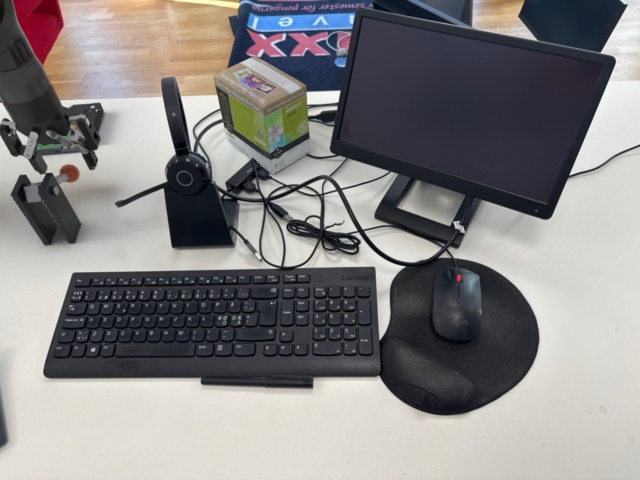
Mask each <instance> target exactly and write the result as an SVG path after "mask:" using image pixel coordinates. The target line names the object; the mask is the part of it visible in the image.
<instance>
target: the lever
mask: <svg viewBox="0 0 640 480" xmlns="http://www.w3.org/2000/svg"><path fill="white" fill-rule="evenodd" d="M58 172H59V173H58V175H56V176H55V178H56V180H57V182H58V183H59V185H61V184H62V183H64V182H65V183H68V184H72V183H76V182H77V181H78V180H79V178H80V176H81V173H80V170H79V168H78V167H77V166H76V165H74V164H69V163H67V164H65V165H64V164H63V165H62V166H61V167H60V169H59V171H58ZM41 183H42V181H38V182H31V184H29V185H27V186H25V187H24V191H25V195H26V199H27V202H42V199H41V197H40V196H39V194H38V190H39V188H40V186H41Z"/></svg>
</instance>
